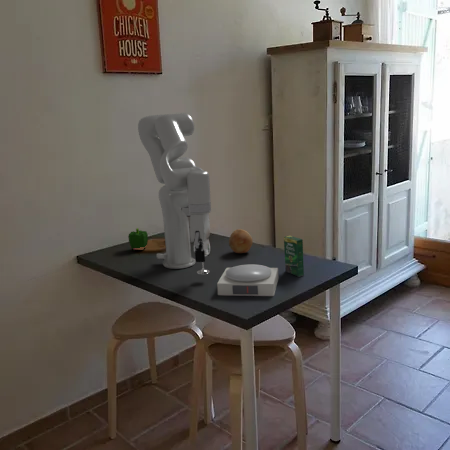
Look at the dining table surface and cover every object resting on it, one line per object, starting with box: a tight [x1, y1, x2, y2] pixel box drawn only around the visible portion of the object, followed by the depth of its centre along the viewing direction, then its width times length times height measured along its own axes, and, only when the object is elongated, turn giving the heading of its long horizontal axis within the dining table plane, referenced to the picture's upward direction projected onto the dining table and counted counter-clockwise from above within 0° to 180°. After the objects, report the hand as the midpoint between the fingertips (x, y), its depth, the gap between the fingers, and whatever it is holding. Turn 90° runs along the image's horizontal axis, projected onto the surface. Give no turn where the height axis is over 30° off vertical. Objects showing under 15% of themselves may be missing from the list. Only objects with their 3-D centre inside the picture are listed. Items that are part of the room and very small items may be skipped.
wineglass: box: [193, 237, 211, 275], centre depth 177 cm, size 6×6×12 cm
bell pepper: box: [127, 227, 149, 250], centre depth 223 cm, size 8×8×10 cm
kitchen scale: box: [216, 264, 279, 297], centre depth 170 cm, size 18×17×5 cm
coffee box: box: [283, 235, 305, 278], centre depth 180 cm, size 8×3×13 cm, turn 28°
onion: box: [228, 228, 254, 254], centre depth 209 cm, size 10×10×10 cm
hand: (202, 258), depth 177 cm, fingers closed on wineglass, 5 cm apart
